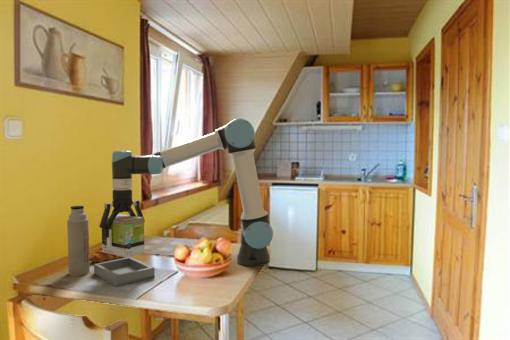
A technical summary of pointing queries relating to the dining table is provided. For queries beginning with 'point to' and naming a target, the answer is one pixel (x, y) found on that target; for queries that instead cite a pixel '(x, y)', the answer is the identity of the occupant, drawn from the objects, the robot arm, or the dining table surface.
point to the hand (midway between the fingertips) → (123, 242)
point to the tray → (124, 271)
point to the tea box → (125, 236)
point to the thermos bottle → (78, 242)
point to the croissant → (103, 256)
